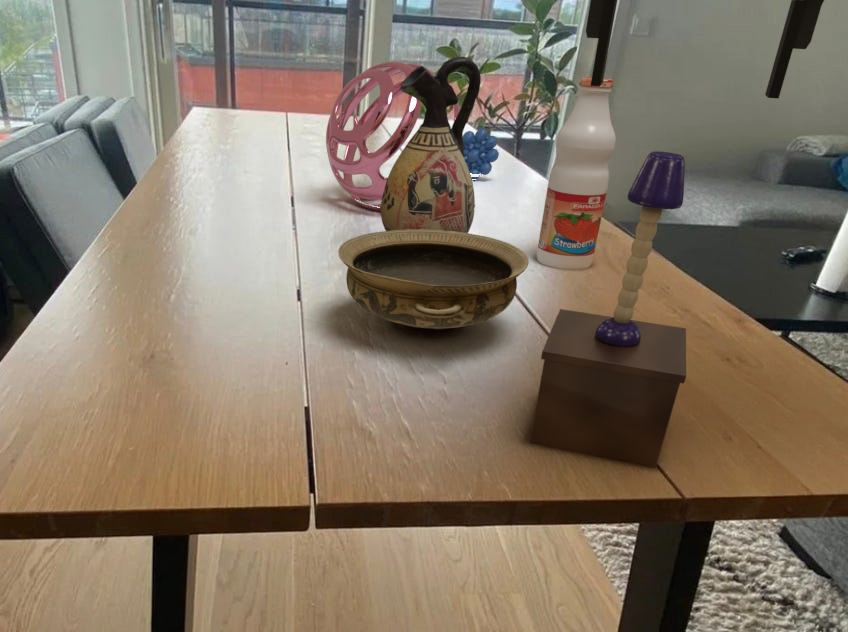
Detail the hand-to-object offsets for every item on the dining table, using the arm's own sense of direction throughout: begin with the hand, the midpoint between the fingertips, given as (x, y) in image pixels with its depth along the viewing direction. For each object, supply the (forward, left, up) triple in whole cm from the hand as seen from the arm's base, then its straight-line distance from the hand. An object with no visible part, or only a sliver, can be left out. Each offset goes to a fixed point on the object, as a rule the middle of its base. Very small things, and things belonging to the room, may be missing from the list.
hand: (681, 91), depth 63 cm
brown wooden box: (+1, +1, -31) cm, 31 cm away
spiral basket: (+52, -83, -32) cm, 103 cm away
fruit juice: (+12, -60, -32) cm, 69 cm away
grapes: (+41, -121, -32) cm, 132 cm away
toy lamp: (0, 0, -22) cm, 22 cm away
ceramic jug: (+34, -53, -32) cm, 70 cm away
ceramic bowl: (+25, -20, -32) cm, 45 cm away
